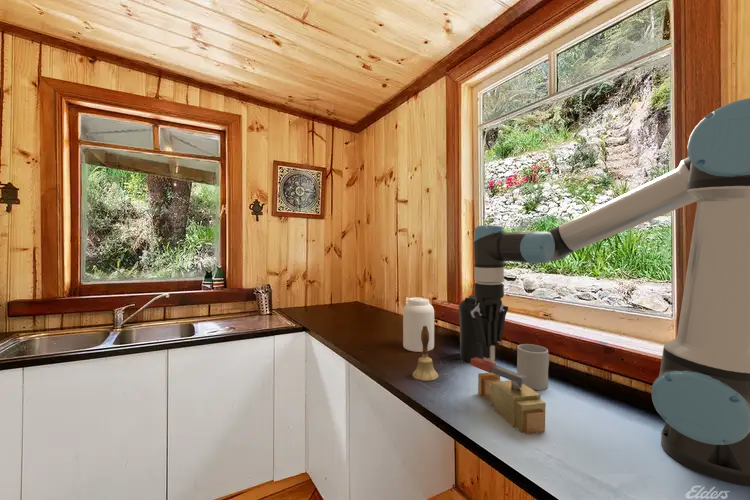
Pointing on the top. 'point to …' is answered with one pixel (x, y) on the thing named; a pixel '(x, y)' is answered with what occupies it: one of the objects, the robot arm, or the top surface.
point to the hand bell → (425, 361)
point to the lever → (500, 372)
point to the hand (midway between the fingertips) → (489, 368)
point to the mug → (533, 365)
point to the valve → (514, 403)
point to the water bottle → (468, 332)
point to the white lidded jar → (417, 323)
